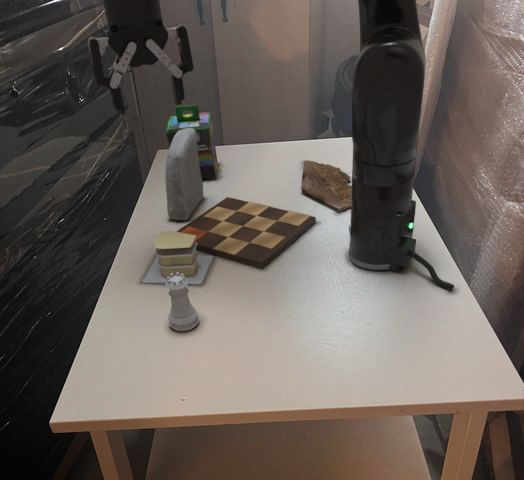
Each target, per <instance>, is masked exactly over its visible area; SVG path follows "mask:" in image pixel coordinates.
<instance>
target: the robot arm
mask: <svg viewBox="0 0 524 480" xmlns="http://www.w3.org/2000/svg"><path fill="white" fill-rule="evenodd" d="M357 3H358V4H357V5H358V16H359V17H358V18H359V55H358V58H357V61H356V62H355V63H356V64H355V66H354V68H353V69H354V70H353V74H352V75H353V76H352V95H351V96H352V97H351V141H352V166H351V168H352V170H351V186H352V194H351V207H350V223H349V224H348V233H349V248H348V259H349V260H350V261H351V263H352V264H354V265H355V266H357V267H359V268H362V269H364V270H370V271H393V272H397V271H398V270H399V268H400V267H406V265H408V263H409V261H411V260H412V259H413V260H415V261H417V262H418V263H420V264H421V265H422V266H423V267H424V268H425V269H426V270H427V271H428V273H429V275H430V277H431V279H432V280H433V282H435V283H436V284H437V285H438V286H440V287H442V288H445V289H448V290H450V291H452V290H453V289H454V288H455V284H453V283H452V282H451V283H450V282H448V281H445V280H443V279H441V278H440V277H439V276H438V273H437V272H436V270H435V267H433V266H432V264H431V263H430V262H428V261H427V260H426V259H425V258H424V257H422V256H421V255H419V254H418V253H416V246H417V239H416V238H413V236H414V226H415V219H416V218H415V217H416V207H417V201H416V200H413V192H414V183H415V182H414V181H415V174H416V164H417V163H416V162H417V154H418V146H419V137H420V125H421V117H422V107H423V99H424V88H425V78H426V76H425V75H426V67H427V65H426V64H427V63H426V62H427V60H426V59H427V58H426V52H425V46H424V43H423V42H424V41H423V38H422V32H421V27H420V21H419V20H420V19H419V13H418V6H417V0H357ZM102 5H103V9H104V13H105V19H106V23H107V31H108V32H107V36H105V37H95V36H93V35H90V36H89V37H88V38H87V45H88V52H89V57H90V63H91V69H92V74H93V79H94V81H95V83H96V85H97V86H99V87H107V88H108V89H109V93H110V97H111V101H112V105H113V107H114V109H115V111H116V112H119V114H120V115H126V114H127V113H126V108H125V104H124V103H125V102H124V98H123V94H122V88H121V87H120V83H121V81H122V78H123V77H124V75H125V74H126V72H127V69H128V67H132V68H133V69H134V68H140V67H141V66H144V65H146V66H153V65H155V64H156V63H157V62H158V61H160V62H161V63H162V65H163V66H164V67H166V69H167V70H168V71H169V72H170V73H171V76H169V77H170V83H171V90H172V96H173V101H174V104H175V105H176V106H182V103H183V102H182V101H185V89H184V82H183V77H184V75H186V74H187V73H189V72H193V70H194V67H195V65H194V61H193V55H192V51H191V45H190V41H189V34H188V31H187V28H186V27H185V26H184V25H183V24H181V23H177V24H175V26H171V27H167V28H166V27H165V25H164V23H163V22H164V21H163V17H162V9H161V4H160V0H102ZM169 38H170V39H171V40H172V41H173V42H174V43H175V44H176V45H177V47H178V51H179V52H178V53H179V57H180V63H178V64H176V63H175V62H174V61H173V60H172V59H171V58H170V57H169V55H167V54H166V52H165V51H164V49H165V47H166V44H167V42H168V39H169ZM107 47H109V48H110V49H111V50H112V51H113V52H114V53H115V54H116V57H115V59H114V62H113V64H112V68H111V70H110V72H109V75H106V74H104V68H103V61H102V56H104V55H105V54H106V48H107Z"/></svg>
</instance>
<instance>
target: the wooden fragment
mask: <svg viewBox="0 0 524 480" xmlns="http://www.w3.org/2000/svg"><path fill="white" fill-rule="evenodd" d="M350 180H351V177H350V175H349V174H347V173H345V172H343V171H342V170H341V168H340V167H336V166H334V165H331V164H328V163H327V164H325V163H319V162H316V161H314V160H309V159H305V160H303V167H302V174H301V186H300V188H301V189H300V191H301V192H304V193H306V194H309V195H311V196H312V197H314V198H316V199H318V200H319V201H322V202H324V203H325V204H327V205H329V206H331V207H334V208H336V209H337V214H338V213H340V212H343V211H345V210H347V209H349V208H351V194H352V185H349V183H348V182H349V181H350Z"/></svg>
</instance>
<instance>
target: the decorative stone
mask: <svg viewBox="0 0 524 480" xmlns="http://www.w3.org/2000/svg"><path fill="white" fill-rule="evenodd" d="M164 172H165V192H166V208H167V210H166V211H167V214H168V216H169V218H170V219H172V220H175V221H187V220H189V218H190V216H191V214H192V213H194V211H195V209H196V207H197V206H198V205H199V204H200V202H202V200H203V199H204V184H203V180H202V177H201V173H200V167H199V158H198V147H197V136H196V131H195V130H194V129H193V128H186V129H182V130H180V131H178V132H177V133H176V135H175V136H174V138H173V140H172V143H171V145H170V148H169V147H168V151H167V155H166V163H165V171H164Z"/></svg>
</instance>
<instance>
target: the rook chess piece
mask: <svg viewBox="0 0 524 480" xmlns="http://www.w3.org/2000/svg"><path fill="white" fill-rule="evenodd" d="M188 283H189V281H188V279H186V278H185V276H184V274H183V273H182V274H181V275H180V273H176V276H174V275H173V273H172V274H170V277H169V276H168V277H167V282H166V283H164V284H165V287H166V288H167V289H168V290H169V292H168V295H169V297H170V301H171V307H170V310H169V313H168V325H169V327H171V328H172V329H173V330H175V331H177V332H188V331H191V330H192V329H195V327H196V326H197V325H198V324H199V321H200V317H199V314H198V311H197V308H195V307H194V305H193V304H192V303H191V301H190V298H189V292H190V291H189V289H188V288H187V287H188V285H189V284H188Z"/></svg>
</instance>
